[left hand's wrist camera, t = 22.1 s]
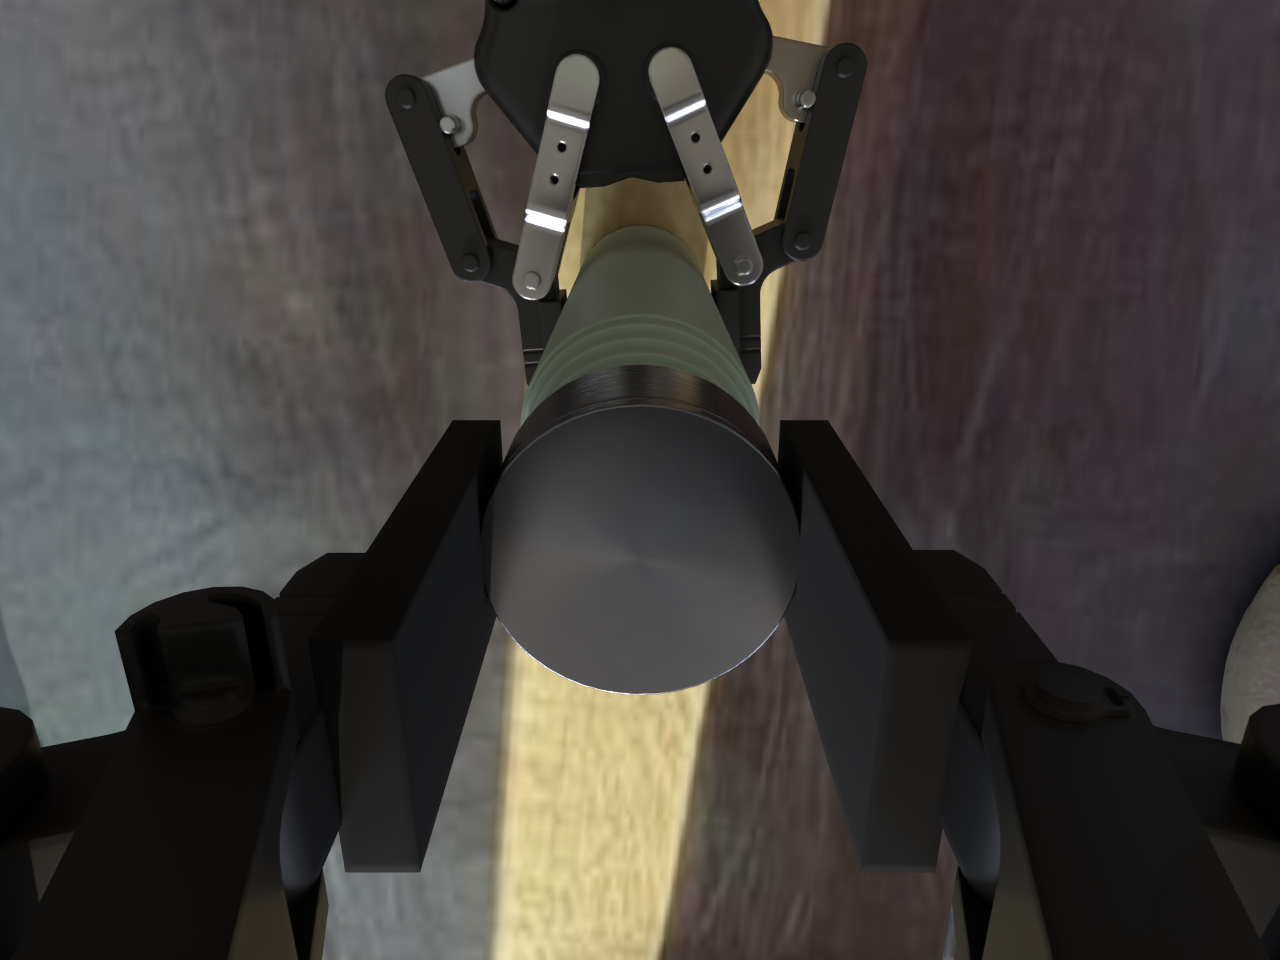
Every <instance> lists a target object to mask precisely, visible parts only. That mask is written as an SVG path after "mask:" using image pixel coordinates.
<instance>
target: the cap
mask: <svg viewBox="0 0 1280 960" xmlns="http://www.w3.org/2000/svg"><path fill="white" fill-rule="evenodd" d="M480 537H481V551H482V565H483V578H484V588H485V591H486V595H487V597H488V599H489V601H490V604H491V606H492V608H493V610H494V612H495V614H496V616H497V617H498V619H499V620H500V622H501V624H502V625H503V627H504V628H505V630H506V631H507V632H508V633H509V635H510V636H511V637H512V638H513V639H514V641H515V642H516V643H517V644H518V645H519V646H520V647H521V648H522V649H523V650H524V651H525V652H526V653H528V654H529V655H530V656H531V657H532V658H533V659H535V660H536V661H538V662H539V663H540V664H542V665H543V666H544V667H546V668H547V669H549V670H551V671H553V672H555V673H556V674H558V675H560V676H562V677H563V678H566V679H568V680H571V681H573V682H575V683H578V684H580V685H583V686H587V687H590V688H594V689H597V690H601V691H606V692H612V693H618V694H632V695H649V694H662V693H668V692H674V691H680V690H683V689H687V688H691V687H694V686H698V685H700V684H703V683H705V682H708V681H710V680H712V679H715V678H717V677H719V676H721V675H722V674H724V673H726V672H728V671H730V670H732V669H733V668H735V667H736V666H737V665H739V664H740V663H742V662H743V661H744V660H746V659H747V658H749V657H750V656H751V655H752V654H753V653H754V652H755V651H756V650H757V649H758V648H760V647H761V646H762V645H763V644H764V642H765V641H766V640H767V639H768V638H769V637H770V635H771V634H772V633H773V632H774V631H775V629H776V628H777V626H778V625H779V623H780V621H781V620H782V618H783V617H784V615H785V614H786V611H787V609H788V607H789V605H790V603H791V601H792V599H793V596H794V593H795V590H796V585H797V573H798V560H799V546H800V522H799V518H798V515H797V511H796V508H795V504H794V501H793V499H792V497H791V494H790V492H789V489H788V487H787V485H786V482H785V480H784V477H783V475H782V473H781V470H780V468H779V466H778V463H777V461H776V458H775V456H774V454H773V451H772V449H771V447H770V445H769V442H768V440H767V438H766V436H765V434H764V433H763V431H762V430H761V428H760V426H759V425H758V423H757V422H756V420H755V419H754V418H753V417H752V416H751V414H750V413H749V412H748V411H747V410H746V409H745V408H744V406H742V405H741V404H740V403H739V402H738V401H737V400H736V399H735V398H733V397H732V396H731V395H730V394H729V393H727V392H726V391H724V390H723V389H721V388H720V387H718V386H717V385H715V384H713V383H711V382H709V381H707V380H705V379H703V378H701V377H699V376H697V375H694V374H691V373H688V372H685V371H682V370H679V369H674V368H669V367H664V366H655V365H625V366H617V367H612V368H607V369H602V370H599V371H596V372H593V373H590V374H587V375H584V376H582V377H580V378H578V379H576V380H573V381H571V382H569V383H567V384H566V385H564V386H563V387H561V388H560V389H558V390H557V391H555V392H554V393H552V394H551V395H550V396H548V397H547V398H546V399H545V400H544V401H543V402H542V403H540V404H539V405H538V406H537V407H536V408H535V409H534V411H533V412H532V413H531V414H530V415H529V416H528V417H527V419H526V420H525V421H524V423H523V424H522V426H521V427H520V429H519V430H518V432H517V434H516V435H515V437H514V440H513V442H512V444H511V446H510V448H509V450H508V453H507V455H506V457H505V460H504V462H503V464H502V467H501V469H500V472H499V474H498V476H497V479H496V481H495V484H494V486H493V488H492V491H491V493H490V495H489V498H488V500H487V503H486V506H485V510H484V513H483V516H482V520H481V526H480Z"/></svg>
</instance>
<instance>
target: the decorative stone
mask: <svg viewBox="0 0 1280 960" xmlns="http://www.w3.org/2000/svg"><path fill="white" fill-rule="evenodd" d="M1273 704H1280V564H1278V565H1277V566H1275V567H1274V569H1273V570H1272V572H1271V573H1270V574H1269V576H1268V577H1267V579H1266V580H1265V581H1264V583H1263V585H1262V586H1261V588H1260V589H1259V591H1258V592H1257V593H1256V596H1255V598H1254V600H1253V601H1252V603H1251V604H1250V605H1249V606H1248V608H1247V610H1246V612H1245V613H1244V615H1243V618H1242V620H1241V622H1240V624H1239V626H1238V628H1237V631H1236V633H1235V635H1234V638H1233V640H1232V643H1231V646H1230V650H1229V654H1228V657H1227V661H1226V666H1225V671H1224V677H1223V683H1222V694H1221V727H1222V736H1223V741H1228V742H1234V743H1239V744H1241V742H1242V739H1243V736H1244V733H1245V729H1246V726H1247V723H1248V720H1249V717H1250V715H1252V714H1253V713H1254V712H1256V711H1257V710H1258V709H1260V708H1261V707H1262V706H1267V705H1273Z"/></svg>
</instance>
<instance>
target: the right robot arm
mask: <svg viewBox="0 0 1280 960" xmlns="http://www.w3.org/2000/svg"><path fill="white" fill-rule="evenodd" d="M866 68H867V62H866V57H865V55H864V53H863V51H862V50H861V49H860V48H859V47H858V46H856V45H854V44H851V43H842V44H839V45H835V46H832V47H825V46H820V45H815V44H810V43H805V42H801V41H796V40H791V39H786V38H781V37H776V36H773V35H772V30H771V27H770V24H769V22H768V20H767V18H766V17H765V15H764V13H763V11H762V9H761V7H760V4H759V2H758V0H485V15H484V22H483V26H482V30H481V33H480V35H479V38H478V40H477V43H476V46H475V52H474V58H472V59H470V60H467V61H464V62H462V63H459V64H456V65H453V66H451V67H448V68H445V69H443V70H440V71H437V72H434V73H432V74H429V75H426V76H424V77H416V76H412V75H407V74H402V75H398V76H396V77H394V78H393V79H392V80H391V81H390V82H389V84H388V86H387V88H386V93H385V98H386V103H387V106H388V108H389V111H390V113H391V116H392V118H393V121H394V123H395V126H396V128H397V131H398V134H399V136H400V139H401V141H402V144H403V146H404V149H405V151H406V154H407V156H408V159H409V161H410V164H411V166H412V169H413V171H414V174H415V176H416V179H417V181H418V184H419V187H420V189H421V192H422V194H423V197H424V199H425V202H426V204H427V207H428V209H429V212H430V214H431V217H432V219H433V222H434V224H435V227H436V229H437V232H438V234H439V237H440V240H441V242H442V245H443V247H444V250H445V252H446V255H447V257H448V260H449V262H450V265H451V267H452V270H453V272H454V273H455V274H456V276H457V277H459V278H460V279H461V280H463V281H466V282H481V283H485V284H488V285H492V286H495V287H498V288H501V289H503V290H505V291H507V292H508V293H509V294H510V295H511V296H512V297H513V298H514V300H515V302H516V304H517V307H518V312H519V321H520V329H521V338H522V346H523V355H524V364H525V372H526V381H527V384H528V386H529V384H530V381H531V379H532V377H533V375H534V372H535V370H536V368H537V366H538V363H539V361H540V359H541V357H542V354H543V352H544V350H545V348H546V346H547V343H548V341H549V339H550V337H551V334H552V332H553V330H554V328H555V325H556V323H557V321H558V319H559V316H560V314H561V312H562V310H563V307H564V305H565V303H566V301H567V293H566V289H563V290H559V280H558V273H559V269H560V265H561V261H562V257H563V253H564V249H565V245H566V241H567V237H568V232H569V228H570V225H571V221H572V218H573V215H574V211H575V207H576V203H577V199H578V195H579V191H580V188H588V187H602V186H607V185H610V184H613V183H615V182H618V181H621V180H624V179H626V178H630V177H634V178H639V179H644V180H649V181H653V182H658V183H659V182H673V181H686V184H687V186H688V189H689V191H690V194H691V196H692V199H693V201H694V204H695V206H696V209H697V211H698V213H699V216H700V218H701V221H702V223H703V226H704V228H705V231H706V233H707V236H708V238H709V241H710V244H711V246H712V249H713V251H714V254H715V256H716V262H717V280H711V295H712V297H713V300H714V302H715V304H716V306H717V309H718V311H719V313H720V315H721V318H722V320H723V322H724V324H725V327H726V329H727V331H728V333H729V335H730V338H731V340H732V342H733V344H734V347H735V349H736V351H737V353H738V356H739V358H740V360H741V362H742V365H743V367H744V369H745V371H746V374H747V376H748V378H749V380H750V383H751V384H755V383H756V380H757V378H758V375H759V373H760V370H761V338H760V336H761V328H760V290H761V286H762V283H763V282H764V280H765V278H766V277H767V276H768V275H769V274H770V273H771V272H773V271H775V270H776V269H779V268H781V267H783V266H786V265H788V264H790V263H792V262H795V261H806V260H809V259H811V258H813V257H814V256H816V255H817V253H818V252H819V251H820V249H821V247H822V244H823V240H824V236H825V232H826V228H827V224H828V220H829V216H830V212H831V208H832V204H833V200H834V196H835V192H836V188H837V184H838V180H839V176H840V172H841V168H842V164H843V160H844V156H845V152H846V148H847V144H848V140H849V136H850V132H851V128H852V125H853V121H854V117H855V113H856V109H857V105H858V101H859V97H860V93H861V89H862V85H863V81H864V77H865V73H866ZM764 73H765V74H767V75H769V76H770V77H772V78H773V79H774V81H775V82H776V84H777V86H778V90H779V100H778V104H779V109H780V112H781V114H782V115H783V116H784V117H785V118H786V119H787V120H789V121H791V122H795V123H796V126H795V130H794V134H793V139H792V143H791V147H790V152H789V156H788V160H787V165H786V169H785V173H784V178H783V182H782V186H781V191H780V195H779V199H778V204H777V208H776V212H775V217H774V220H773V221H771V222H769V223H766V224H764V225H762V226H760V227H758V228H755V229H753V230H752V229H751V227H750V224H749V221H748V219H747V216H746V213H745V210H744V208H743V205H742V201H741V197H740V194H739V191H738V188H737V185H736V183H735V180H734V177H733V174H732V172H731V169H730V166H729V164H728V161H727V158H726V156H725V153H724V150H723V148H722V145H721V142H722V140H723V139H724V137H725V135H726V134H727V132H728V131H729V129H730V127H731V126H732V124H733V123H734V121H735V119H736V118H737V116H738V114H739V113H740V111H741V110H742V108H743V106H744V105H745V103H746V101H747V100H748V98H749V97H750V95H751V93H752V92H753V90H754V88H755V87H756V85H757V84H758V82H759V80H760V79H761V77H762V75H763V74H764ZM486 94H488V95H489V96H490V97H491V98H492V100H493V101H494V102H495V103H496V105H497V106H498V107H499V108H500V109H501V111H502V112H503V113H504V114H505V115H506V117H507V118H508V119H509V120H510V122H511V123H512V124H513V125H514V126H515V128H516V129H517V130H518V131H519V133H520V134H521V135H522V136H523V137H524V139H525V140H526V141H527V142H528V144H529V145H530V146H531V147H532V148H533V150H534V151H535V152H536V153H537V155H538V157H537V161H536V166H535V170H534V175H533V179H532V184H531V188H530V193H529V197H528V201H527V206H526V212H525V222H524V227H523V231H522V236H521V240H520V245H516V244H512V243H509V242H505V241H502V240H499V239H498V237H497V234H496V232H495V229H494V226H493V223H492V221H491V218H490V215H489V213H488V210H487V207H486V205H485V202H484V199H483V197H482V194H481V191H480V189H479V186H478V183H477V181H476V178H475V175H474V172H473V170H472V167H471V164H470V162H469V159H468V156H467V154H466V151H465V148H464V146H466V145H468V144H470V143H471V142H472V141H473V140H474V139H475V137H476V135H477V132H478V122H477V117H476V109H477V105H478V103H479V101H480V100H481V98H482V97H483V96H485V95H486ZM684 178H685V180H684Z"/></svg>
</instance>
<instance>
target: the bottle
mask: <svg viewBox="0 0 1280 960" xmlns="http://www.w3.org/2000/svg"><path fill="white" fill-rule="evenodd" d="M625 365H655V366H664V367H669V368H674V369H679V370H682V371H685V372H688V373H691V374H694V375H697V376H699V377H701V378H703V379H705V380H707V381H709V382H711V383H713V384H715V385H717V386H718V387H720V388H721V389H723V390H724V391H726V392H727V393H729V394H730V395H731V396H732V397H733V398H735V399H736V400H737V401H738V402H739V403H740V404H741V405H742V406H744V408H745V409H746V410H747V411H748V412H749V413H750V414H751V416H752V417H753V418H754V419H755V420H756V422H757V423H758V425H759V426H760V418H759V409H758V404H757V400H756V396H755V393H754V390H753V388H752V385H751V383H750V380H749V378H748V376H747V374H746V371H745V369H744V367H743V365H742V362H741V360H740V358H739V356H738V353H737V351H736V349H735V347H734V344H733V342H732V340H731V338H730V335H729V333H728V331H727V329H726V327H725V324H724V322H723V320H722V318H721V315H720V313H719V311H718V309H717V306H716V304H715V302H714V300H713V297H712V295H711V293H710V291H709V288H708V286H707V284H706V282H705V279H704V277H703V275H702V273H701V271H700V268H699V266H698V264H697V262H696V260H695V258H694V256H693V254H692V253H691V251H690V250H689V249H688V247H687V246H686V245H685V244H684V243H683V242H682V241H681V240H680V239H678V238H677V237H676V236H674V235H673V234H671V233H669V232H667V231H665V230H663V229H660V228H657V227H653V226H646V225H634V226H628V227H624V228H620V229H618V230H616V231H613V232H611V233H610V234H608V235H606V236H605V237H603V238H602V239H601V240H600V241H599V242H598V243H597V244H596V245H595V246H594V247H593V248H592V249H591V251H590V252H589V253H588V255H587V257H586V259H585V261H584V263H583V265H582V267H581V269H580V272H579V274H578V276H577V278H576V281H575V283H574V285H573V287H572V290H571V292H570V294H569V296H568V298H567V301H566V303H565V305H564V307H563V310H562V312H561V314H560V316H559V319H558V321H557V323H556V325H555V328H554V330H553V332H552V334H551V337H550V339H549V341H548V343H547V346H546V348H545V350H544V352H543V354H542V357H541V359H540V361H539V363H538V366H537V368H536V370H535V372H534V375H533V377H532V379H531V381H530V384H529V387H528V389H527V392H526V395H525V398H524V402H523V407H522V412H521V425H520V427H521V426H522V424H523V423H524V421H525V420H526V419H527V417H528V416H529V415H530V414H531V413H532V412H533V411H534V409H535V408H536V407H537V406H538V405H539V404H540V403H542V402H543V401H544V400H545V399H546V398H547V397H548V396H550V395H551V394H552V393H554V392H555V391H557V390H558V389H560V388H561V387H563V386H564V385H566V384H567V383H569V382H571V381H573V380H576V379H578V378H580V377H582V376H584V375H587V374H590V373H593V372H596V371H599V370H602V369H607V368H612V367H617V366H625Z"/></svg>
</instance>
